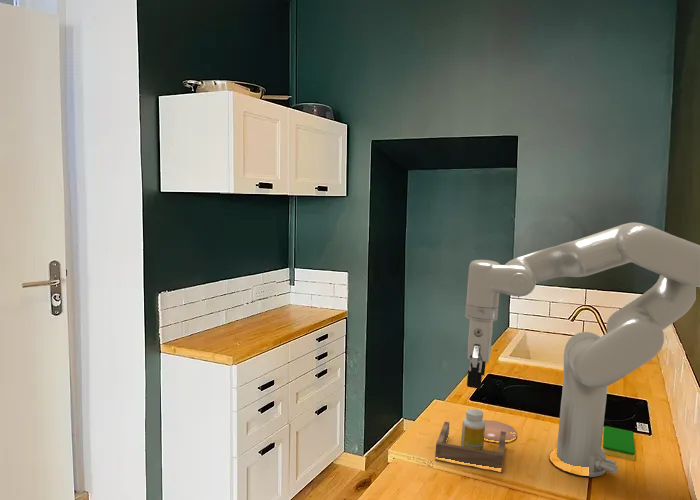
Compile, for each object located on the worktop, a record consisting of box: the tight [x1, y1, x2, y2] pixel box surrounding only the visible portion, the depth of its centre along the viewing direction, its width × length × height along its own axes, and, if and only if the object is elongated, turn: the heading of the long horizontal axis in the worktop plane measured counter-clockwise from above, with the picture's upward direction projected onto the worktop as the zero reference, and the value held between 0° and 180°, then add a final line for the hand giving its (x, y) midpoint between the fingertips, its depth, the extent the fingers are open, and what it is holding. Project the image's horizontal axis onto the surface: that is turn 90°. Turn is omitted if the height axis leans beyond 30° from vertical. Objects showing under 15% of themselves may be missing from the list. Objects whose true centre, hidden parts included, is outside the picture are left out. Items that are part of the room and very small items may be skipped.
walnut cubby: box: [434, 421, 506, 469], centre depth 136 cm, size 13×15×4 cm
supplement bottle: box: [460, 408, 485, 450], centre depth 138 cm, size 5×5×10 cm
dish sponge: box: [602, 425, 636, 461], centre depth 143 cm, size 7×14×2 cm, turn 155°
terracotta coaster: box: [482, 419, 518, 441], centre depth 148 cm, size 12×12×1 cm
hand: (475, 380), depth 136 cm, fingers open, 9 cm apart
